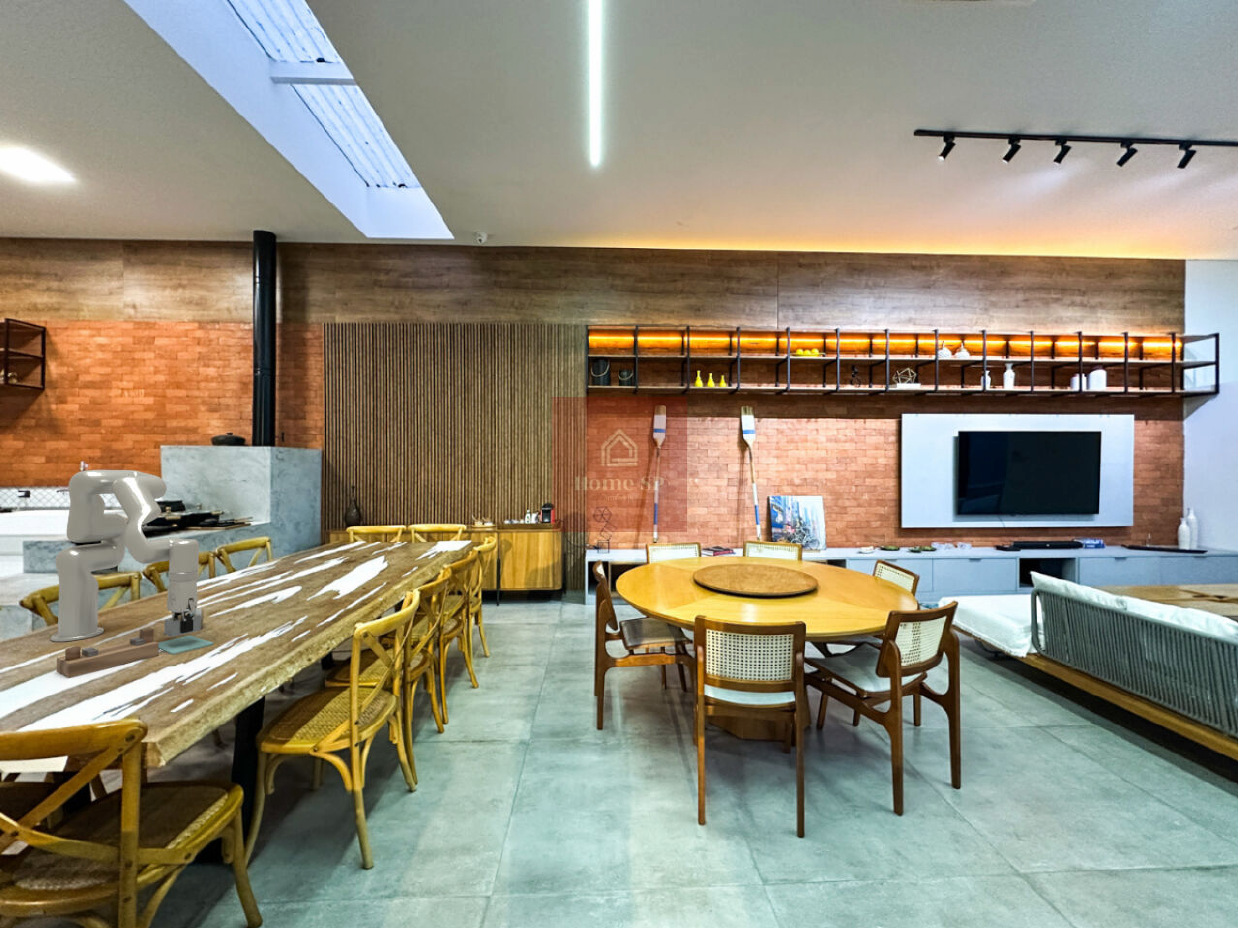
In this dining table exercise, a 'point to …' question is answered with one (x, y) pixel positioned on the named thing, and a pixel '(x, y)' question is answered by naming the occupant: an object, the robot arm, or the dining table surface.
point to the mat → (183, 644)
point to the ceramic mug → (199, 612)
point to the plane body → (107, 655)
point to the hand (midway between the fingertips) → (182, 630)
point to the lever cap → (174, 625)
